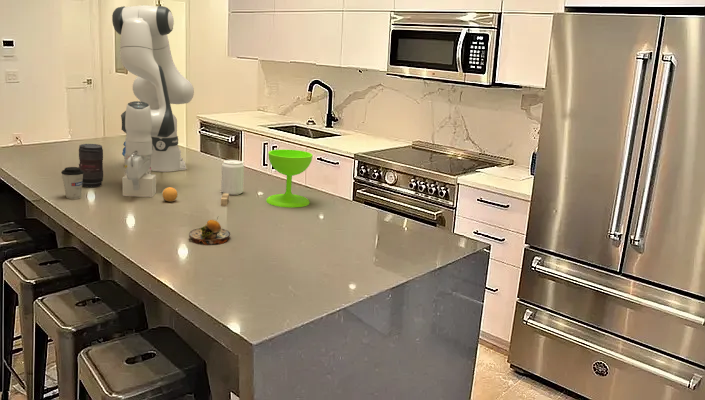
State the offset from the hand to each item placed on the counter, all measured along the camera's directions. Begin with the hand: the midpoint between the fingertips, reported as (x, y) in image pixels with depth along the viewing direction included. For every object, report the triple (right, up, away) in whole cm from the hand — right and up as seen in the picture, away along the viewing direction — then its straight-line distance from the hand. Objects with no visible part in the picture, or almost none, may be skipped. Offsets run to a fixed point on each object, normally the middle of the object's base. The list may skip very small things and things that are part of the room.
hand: (139, 186), depth 214 cm
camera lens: (-20, 0, +7) cm, 21 cm away
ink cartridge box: (-6, +1, +15) cm, 16 cm away
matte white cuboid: (0, -3, +1) cm, 3 cm away
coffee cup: (-19, -4, -9) cm, 22 cm away
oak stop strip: (+31, -6, -2) cm, 32 cm away
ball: (+13, -3, -6) cm, 15 cm away
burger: (+35, -16, -40) cm, 55 cm away
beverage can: (+31, -2, +12) cm, 33 cm away
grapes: (-19, +9, +41) cm, 46 cm away
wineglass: (+52, -6, +6) cm, 53 cm away
